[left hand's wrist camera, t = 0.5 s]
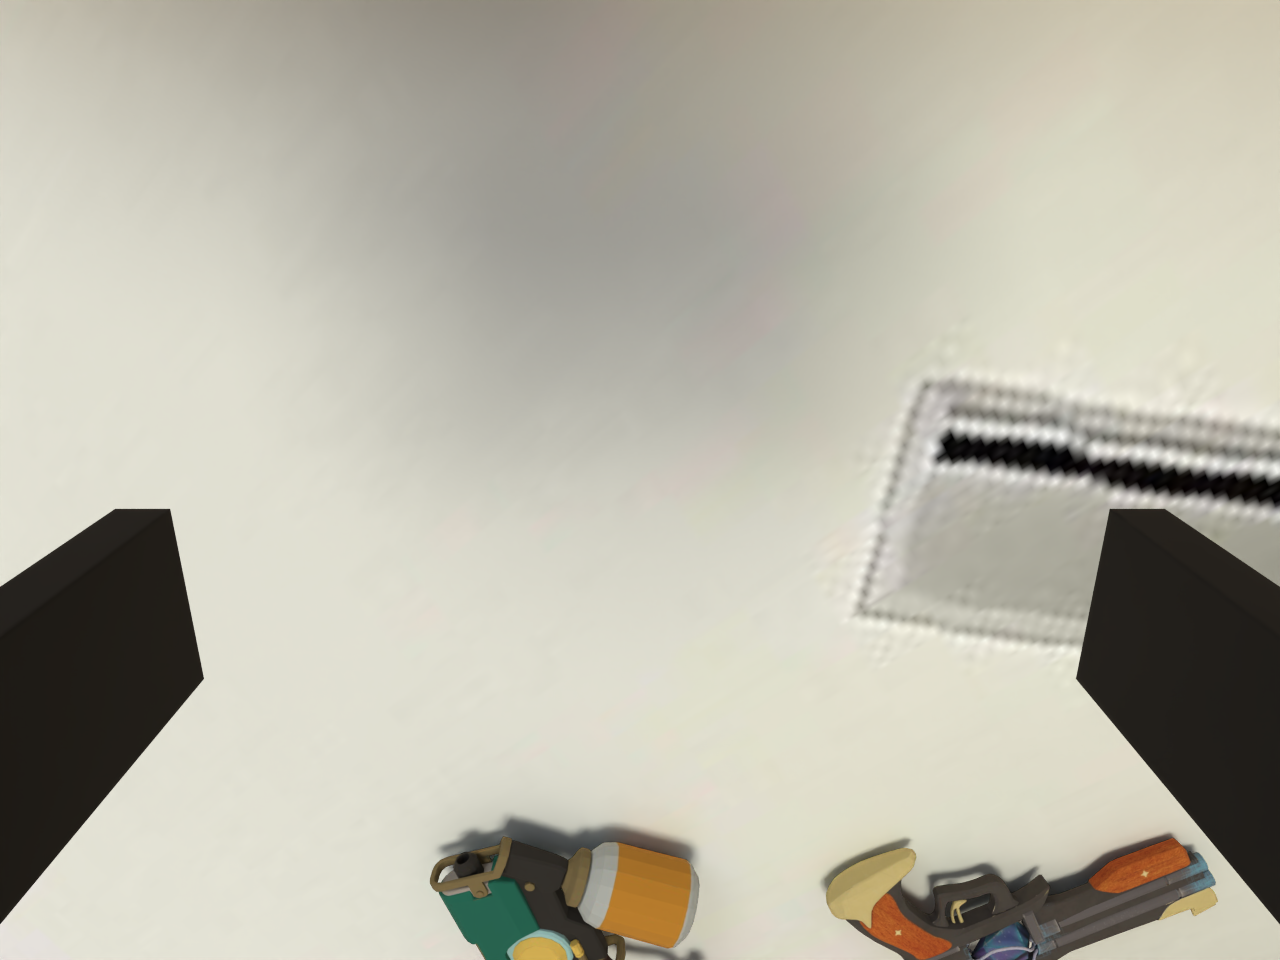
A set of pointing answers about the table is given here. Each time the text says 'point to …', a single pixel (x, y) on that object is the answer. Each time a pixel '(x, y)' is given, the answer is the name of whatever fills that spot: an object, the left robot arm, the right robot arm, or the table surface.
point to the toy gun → (1020, 906)
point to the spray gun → (567, 900)
